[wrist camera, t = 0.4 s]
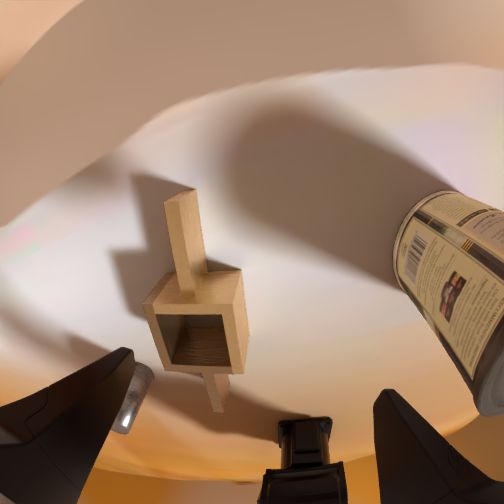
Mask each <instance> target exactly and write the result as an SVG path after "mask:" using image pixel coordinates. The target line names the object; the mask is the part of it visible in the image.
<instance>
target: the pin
mask: <svg viewBox="0 0 504 504" xmlns="http://www.w3.org/2000/svg"><path fill="white" fill-rule="evenodd" d="M153 379H154V374H153V372H152V370H151V369H150V368H149V367H147V366H146V365H144V364H141V363H135V372H134V375H133V377H132V380H131V383H130V385H129V388H128V391H127V394H126V397H125V399H124V402H123V405H122V407H121V409H120V411H119V413H118V415H117V417H116V419H115V421H114V423H113V425H112V427H111V430H113V431H114V432H117V433H120V434H128V433H129V431H130V429H131V427H132V424H133V422H134V420H135V418H136V415H137V413H138V411H139V409H140V407H141V405H142V402H143V400H144V398H145V396H146V394H147V391H148V389H149V387H150V385H151V383H152V381H153Z"/></svg>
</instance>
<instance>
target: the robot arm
mask: <svg viewBox="0 0 504 504" xmlns="http://www.w3.org/2000/svg"><path fill="white" fill-rule="evenodd" d="M134 372H135V359H134V352H133V350H132V349H129V348H126V347H120V348H118V349H117V350H115V351H113V352H111V353H109V354H107V355H106V356H104V357H102V358H100V359H98V360H96V361H95V362H93V363H91V364H89V365H87V366H85V367H83V368H82V369H80V370H78V371H76V372H74V373H72V374H70V375H69V376H67V377H65V378H63V379H61V380H59V381H57V382H55V383H53V384H52V385H50V386H49V388H48V387H46V388H44V389H42V390H40V391H38V392H36V393H34V394H32V395H30V396H27V397H25V398H22V399H20V400H17V401H15V402H12V403H9V404H7V405H4V406H1V407H0V504H77V501H78V499H79V497H80V494H81V491H82V489H83V487H84V485H85V483H86V480H87V478H88V476H89V474H90V472H91V469H92V467H93V465H94V463H95V461H96V459H97V457H98V454H99V452H100V450H101V448H102V446H103V444H104V442H105V440H106V438H107V436H108V433H109V431H110V429H111V427H112V425H113V423H114V421H115V419H116V417H117V415H118V413H119V411H120V409H121V407H122V405H123V402H124V399H125V397H126V394H127V391H128V388H129V385H130V383H131V380H132V377H133V375H134ZM373 418H374V443H375V452H376V460H377V468H378V477H379V488H380V500H381V504H504V482H501V481H495V480H493V479H491V478H489V477H488V476H487V475H485V474H484V473H483V472H482V471H480V470H479V469H478V468H477V467H475V466H474V465H472V464H471V463H470V462H469V461H468V460H467V459H466V458H464V457H463V456H462V455H461V454H460V453H459V452H458V451H457V450H455V448H454V447H453V446H452V445H449V443H448V442H447V441H446V440H445V439H444V438H443V437H442V436H441V435H440V434H439V433H438V432H437V431H436V430H435V429H434V428H433V427H432V426H431V425H430V424H429V423H428V422H427V421H426V420H425V419H424V418H423V417H422V416H421V415H420V414H419V413H418V412H417V411H416V410H415V409H414V408H413V407H412V406H411V405H410V404H409V403H408V402H407V401H406V400H405V399H404V398H403V397H402V396H401V395H400V394H398V393H397V392H396V391H395V390H394V389H384V390H382V392H381V393H380V395H379V396H378V398H377V399H376V401H375V403H374V406H373ZM332 423H333V422H332V419H330V418H328V419H317V420H302V421H281V422H279V423H278V437H279V448H281V469H272V470H271V469H266V474H264V475H263V484H262V489H261V491H260V494H259V497H258V500H257V504H348V498H347V497H348V496H347V486H346V479H345V472H344V467H343V461H340V462H338V463H332V464H330V455H329V445H328V442H329V438H330V433H331V428H332Z"/></svg>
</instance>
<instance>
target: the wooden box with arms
mask: <svg viewBox="0 0 504 504" xmlns="http://www.w3.org/2000/svg"><path fill="white" fill-rule="evenodd" d="M164 208H165V214H166V220H167V226H168V231H169V237H170V242H171V247H172V253H173V258H174V262H175V267H176V272H177V273H166V274H165V275H164V276H163V277H162V279H161V280H160V281H159V283H158V284H157V285H156V287H155V288H154V289H153V291H152V292H151V293H150V294H149V296H148V297H147V298H146V300H145V301H144V302H143V304H142V305H143V308H144V311H145V315H146V318H147V321H148V324H149V327H150V330H151V333H152V336H153V339H154V342H155V345H156V348H157V350H158V353H159V356H160V359H161V361H162V364H163V367H164V369H165V371H175V372H190V373H202V376H203V379H204V383H205V386H206V389H207V392H208V396H209V399H210V402H211V405H212V408H213V412H220V413H224V410H225V405H226V400H227V395H228V390H229V385H230V382H229V378H228V374H244V368H245V361H246V354H247V347H248V341H249V328H248V320H247V312H246V303H245V295H244V287H243V278H242V270H229V271H208V268H207V261H206V255H205V249H204V243H203V236H202V230H201V223H200V216H199V209H198V202H197V194H196V189H195V190H187V191H182V192H180V193H179V194H177V195H175V196H173V197H172V198H170V199H168V200H167V201H165V202H164ZM184 314H222V317H223V323H224V328H188V327H187V323H186V319H185V315H184Z"/></svg>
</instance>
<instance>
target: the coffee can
mask: <svg viewBox="0 0 504 504" xmlns="http://www.w3.org/2000/svg"><path fill="white" fill-rule="evenodd" d="M393 269H394V273H395V276H396V279H397V281H398V283H399V285H400V287H401V288H402V289H403V291H404V292H405V293H406V294H407V295H408V296H409V298H410V299H411V300H412V301H413V303H414V304H415V306H416V307H417V308H418V310H419V311H420V313H421V314H422V315H423V317H424V318H425V320H426V321H427V323H428V324H429V326H430V327H431V328H432V330H433V331H434V333H435V334H436V336H437V337H438V339H439V340H440V342H441V343H442V345H443V347H444V348H445V350H446V351H447V353H448V355H449V356H450V358H451V359H452V361H453V362H454V364H455V366H456V367H457V369H458V371H459V372H460V374H461V376H462V377H463V379H464V381H465V382H466V384H467V386H468V388H469V389H470V391H471V393H472V395H473V400H474V403H475V406H476V408H477V410H478V412H479V413H480V414H481V415H483V416H487V417H492V416H498V415H501V414H504V212H502V211H500V210H498V209H496V208H493V207H491V206H489V205H486V204H484V203H482V202H479V201H477V200H474V199H472V198H469V197H467V196H466V195H464V194H462V193H459V192H456V191H440V192H436V193H433V194H431V195H429V196H427V197H425V198H424V199H423V200H421V201H420V202H418V203H417V204H416V205H415V206H414V207H413V208H412V209H411V211H410V212H409V213H408V214H407V216H406V217H405V219H404V221H403V222H402V224H401V227H400V229H399V231H398V234H397V237H396V240H395V244H394V250H393Z"/></svg>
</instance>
